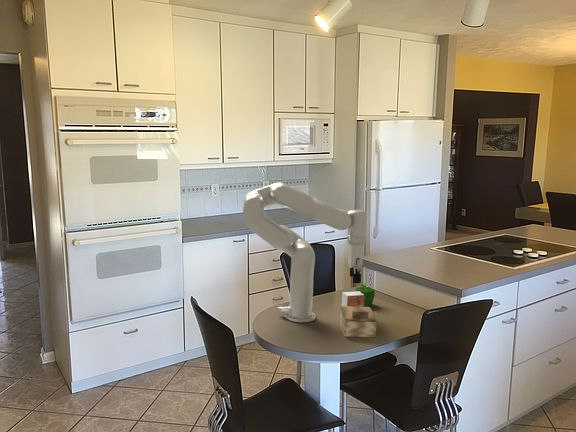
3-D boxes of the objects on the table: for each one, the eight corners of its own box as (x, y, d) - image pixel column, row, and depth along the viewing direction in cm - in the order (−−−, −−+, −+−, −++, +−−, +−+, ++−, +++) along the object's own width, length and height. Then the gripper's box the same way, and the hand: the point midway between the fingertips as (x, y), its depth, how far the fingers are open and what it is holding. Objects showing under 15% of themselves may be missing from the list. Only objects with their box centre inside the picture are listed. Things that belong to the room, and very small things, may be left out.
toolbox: (344, 336, 184) (344, 321, 183) (339, 322, 198) (340, 308, 197) (375, 337, 184) (376, 322, 183) (369, 323, 198) (369, 309, 197)
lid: (344, 320, 183) (345, 312, 182) (340, 308, 197) (341, 300, 196) (376, 321, 183) (376, 313, 183) (369, 308, 197) (370, 301, 196)
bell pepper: (377, 307, 218) (378, 285, 217) (361, 309, 215) (362, 287, 214) (367, 301, 226) (369, 280, 224) (352, 303, 223) (353, 282, 221)
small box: (346, 320, 201) (347, 295, 199) (340, 315, 206) (342, 291, 205) (363, 318, 203) (364, 294, 202) (358, 314, 209) (359, 290, 207)
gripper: (344, 235, 208) (343, 274, 211) (350, 243, 191) (348, 285, 194) (362, 235, 208) (360, 274, 211) (369, 244, 191) (367, 285, 194)
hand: (355, 279), depth 202 cm, fingers open, 9 cm apart
